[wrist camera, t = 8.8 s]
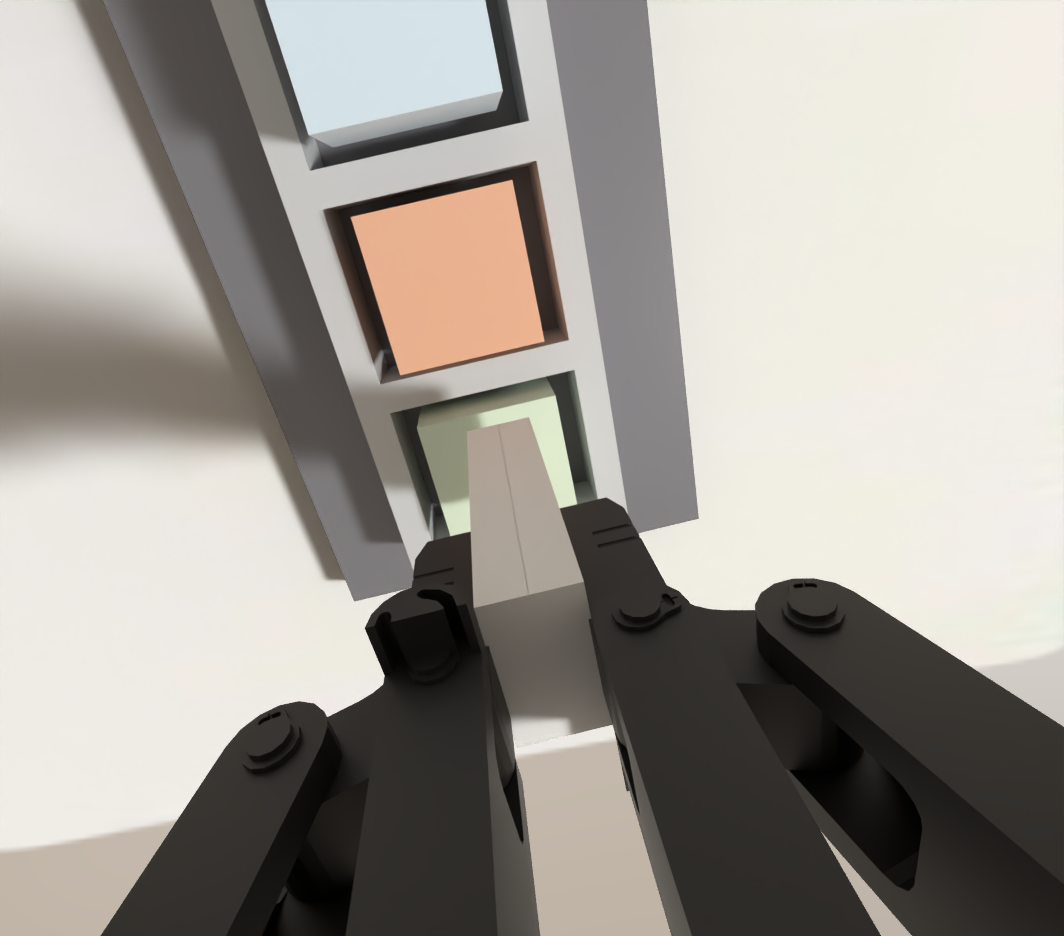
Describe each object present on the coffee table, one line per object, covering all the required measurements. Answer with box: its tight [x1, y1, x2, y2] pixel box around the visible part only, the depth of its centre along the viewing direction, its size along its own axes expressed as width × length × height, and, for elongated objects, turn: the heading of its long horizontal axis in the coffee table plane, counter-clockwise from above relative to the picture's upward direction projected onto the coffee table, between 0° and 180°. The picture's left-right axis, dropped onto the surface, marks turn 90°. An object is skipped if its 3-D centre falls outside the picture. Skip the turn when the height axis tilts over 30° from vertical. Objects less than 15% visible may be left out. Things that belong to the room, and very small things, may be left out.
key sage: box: [417, 377, 577, 536], centre depth 16 cm, size 4×4×2 cm
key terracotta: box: [351, 180, 544, 375], centre depth 14 cm, size 4×4×2 cm
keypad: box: [103, 0, 699, 601], centre depth 14 cm, size 24×12×3 cm, turn 12°
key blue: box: [265, 0, 503, 147], centre depth 11 cm, size 4×4×2 cm
